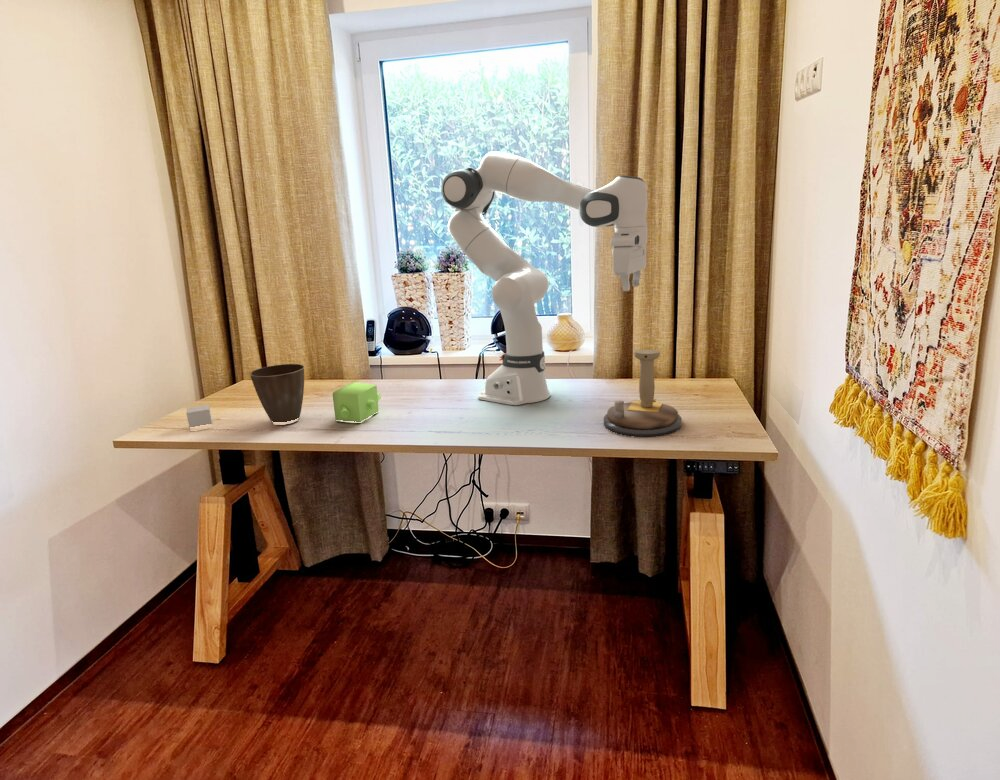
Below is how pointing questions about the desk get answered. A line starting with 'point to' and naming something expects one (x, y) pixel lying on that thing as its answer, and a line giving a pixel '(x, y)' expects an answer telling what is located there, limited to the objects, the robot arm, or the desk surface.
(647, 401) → the handle
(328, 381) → the desk surface
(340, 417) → the gearbox
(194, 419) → the grey cube
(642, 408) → the disc
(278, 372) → the plant pot
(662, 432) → the wheel base
